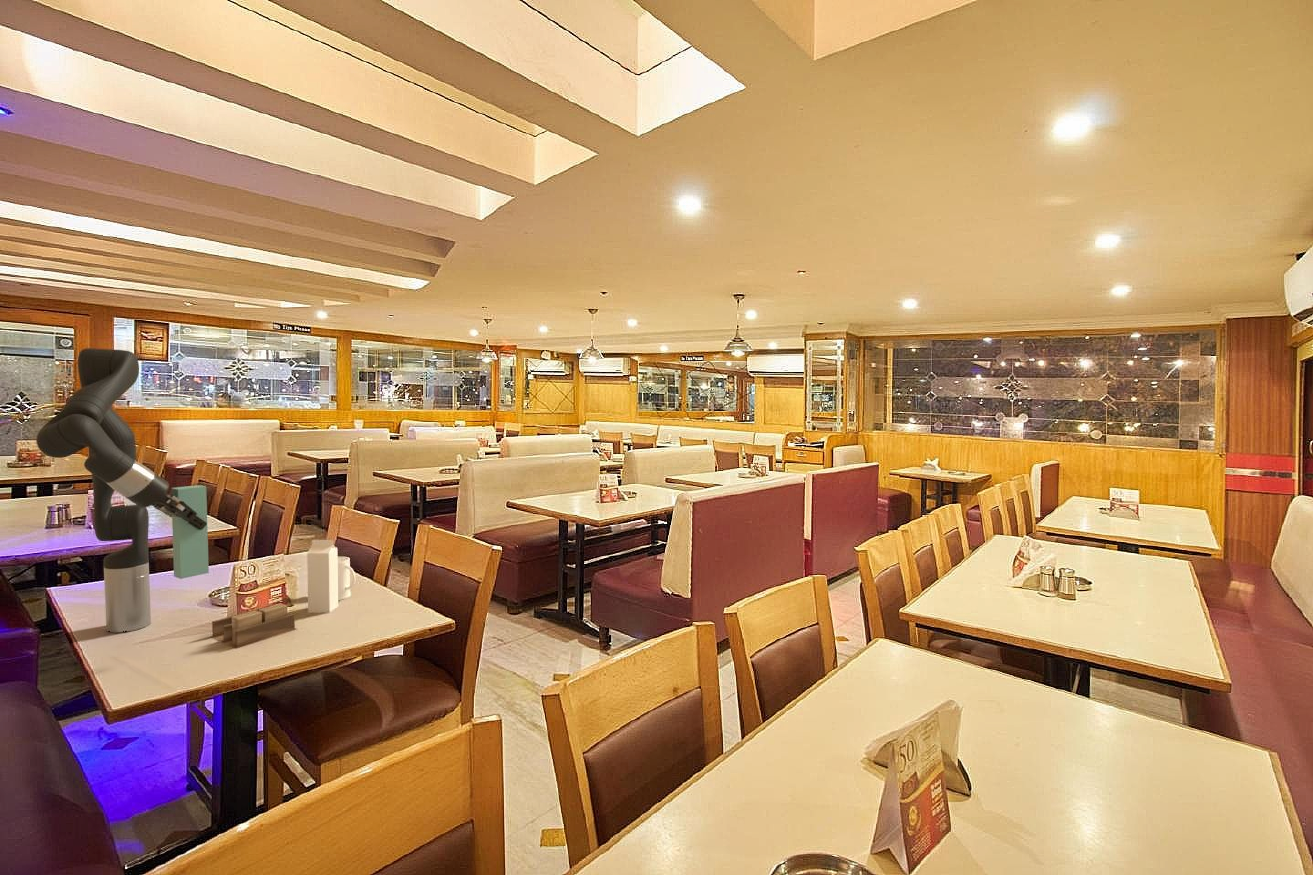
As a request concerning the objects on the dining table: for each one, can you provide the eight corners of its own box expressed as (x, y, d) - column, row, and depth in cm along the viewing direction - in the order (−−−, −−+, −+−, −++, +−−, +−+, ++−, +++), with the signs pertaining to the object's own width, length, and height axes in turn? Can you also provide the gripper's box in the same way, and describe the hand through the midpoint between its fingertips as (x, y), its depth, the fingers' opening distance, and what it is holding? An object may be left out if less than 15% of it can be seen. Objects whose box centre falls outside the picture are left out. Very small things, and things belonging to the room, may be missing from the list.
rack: (210, 642, 158) (209, 621, 157) (270, 624, 171) (270, 604, 170) (236, 654, 151) (235, 632, 151) (297, 634, 164) (297, 614, 164)
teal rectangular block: (174, 576, 151) (171, 488, 149) (201, 570, 156) (199, 485, 154) (180, 578, 149) (178, 489, 148) (208, 572, 154) (206, 486, 153)
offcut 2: (259, 633, 160) (258, 609, 160) (281, 626, 165) (280, 603, 165) (265, 636, 159) (265, 611, 158) (287, 629, 164) (287, 605, 163)
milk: (317, 610, 182) (316, 537, 181) (338, 610, 183) (337, 537, 181) (307, 617, 176) (306, 542, 175) (329, 617, 177) (328, 542, 175)
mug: (364, 596, 195) (364, 559, 194) (341, 604, 187) (341, 566, 186) (337, 590, 200) (337, 554, 199) (314, 598, 192) (313, 561, 191)
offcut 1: (232, 641, 155) (231, 616, 154) (256, 634, 160) (255, 610, 159) (238, 644, 153) (238, 619, 153) (262, 637, 158) (261, 612, 158)
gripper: (165, 473, 141) (225, 517, 152) (138, 468, 148) (197, 510, 159) (137, 499, 136) (201, 542, 148) (111, 493, 143) (174, 534, 155)
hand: (199, 525), depth 153 cm, fingers closed on teal rectangular block, 3 cm apart
